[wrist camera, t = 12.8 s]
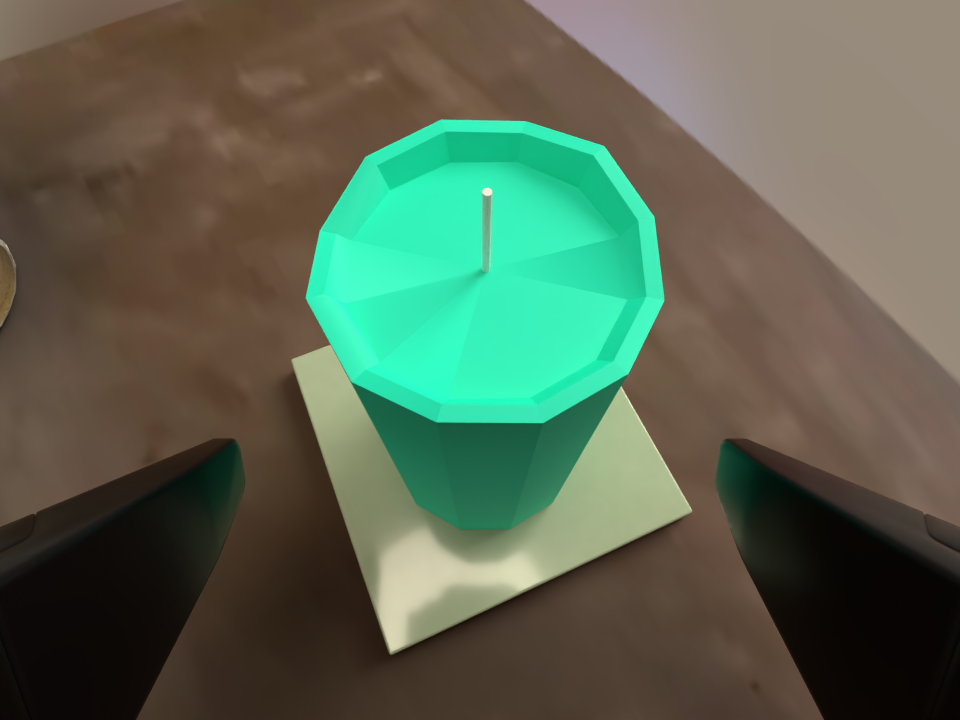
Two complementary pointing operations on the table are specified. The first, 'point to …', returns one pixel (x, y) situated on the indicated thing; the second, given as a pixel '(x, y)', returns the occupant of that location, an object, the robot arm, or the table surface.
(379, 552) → the tile
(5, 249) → the figurine
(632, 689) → the table surface
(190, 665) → the table surface
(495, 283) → the candle
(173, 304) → the table surface
